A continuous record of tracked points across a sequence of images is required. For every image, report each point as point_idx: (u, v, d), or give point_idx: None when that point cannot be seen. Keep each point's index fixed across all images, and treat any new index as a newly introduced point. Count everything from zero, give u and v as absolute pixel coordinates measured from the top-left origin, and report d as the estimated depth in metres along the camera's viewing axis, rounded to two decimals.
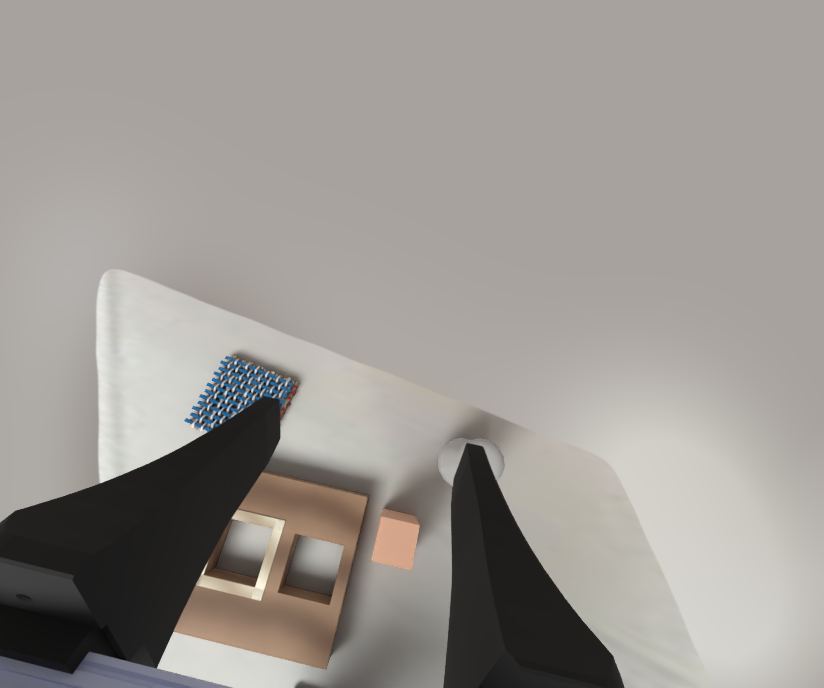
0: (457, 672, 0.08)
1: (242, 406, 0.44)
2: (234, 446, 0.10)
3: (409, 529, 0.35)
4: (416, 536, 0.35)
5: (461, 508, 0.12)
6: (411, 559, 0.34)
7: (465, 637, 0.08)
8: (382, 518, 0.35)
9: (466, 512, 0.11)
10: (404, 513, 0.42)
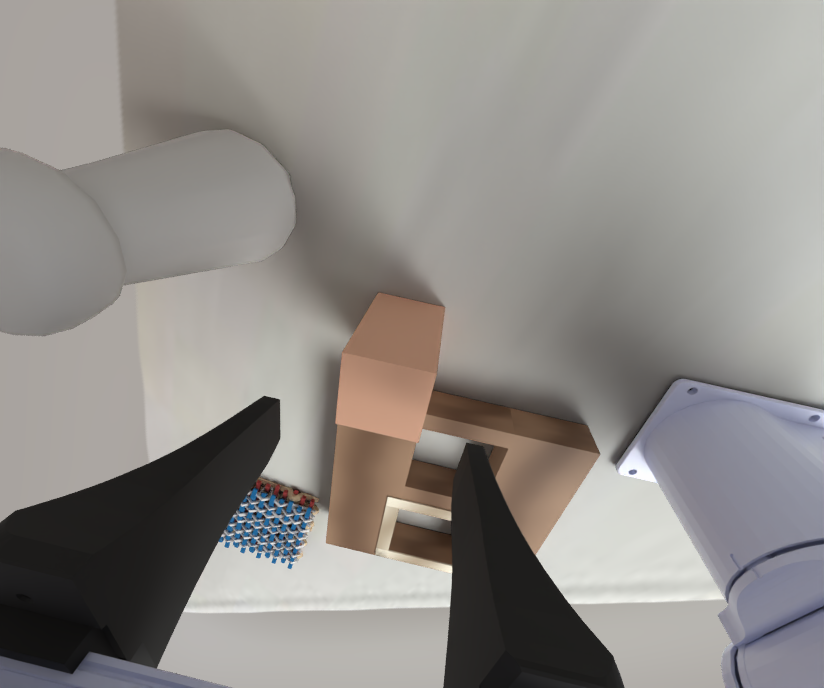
0: (457, 672, 0.08)
1: (256, 525, 0.31)
2: (234, 446, 0.10)
3: (353, 373, 0.15)
4: (366, 360, 0.14)
5: (461, 508, 0.12)
6: (414, 372, 0.14)
7: (465, 637, 0.08)
8: (339, 421, 0.16)
9: (466, 512, 0.11)
10: None
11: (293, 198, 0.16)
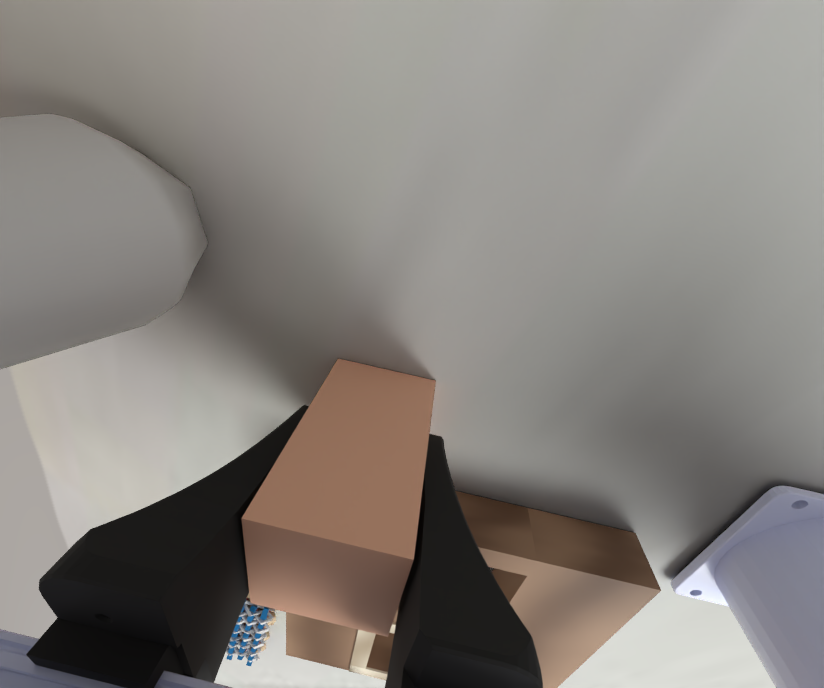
0: (395, 657, 0.08)
1: None
2: None
3: (267, 547, 0.08)
4: (286, 532, 0.08)
5: None
6: (373, 554, 0.08)
7: (403, 622, 0.08)
8: (256, 601, 0.10)
9: None
10: None
11: (181, 230, 0.10)
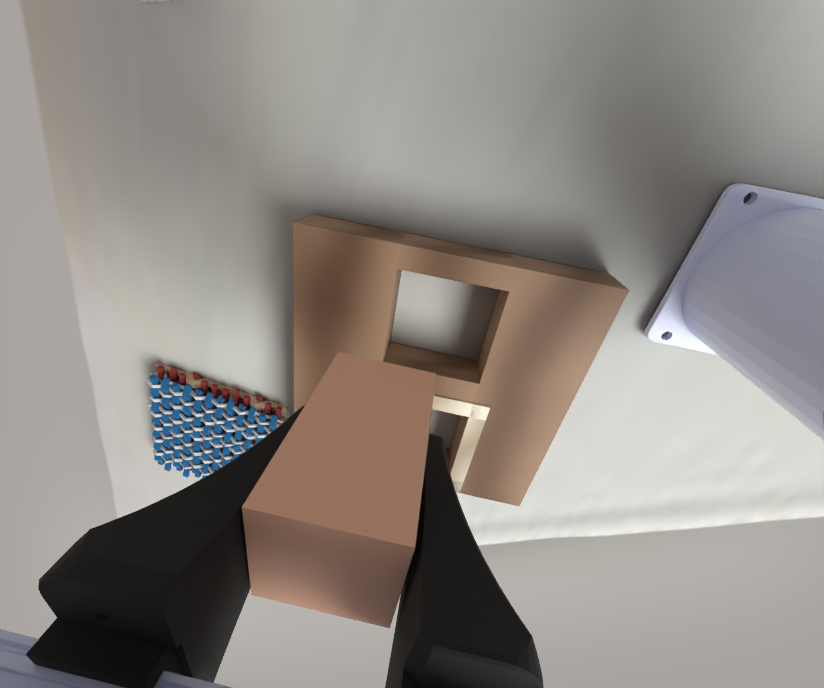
0: (395, 657, 0.08)
1: (215, 442, 0.27)
2: None
3: (267, 537, 0.08)
4: (286, 520, 0.08)
5: None
6: (374, 542, 0.08)
7: (403, 622, 0.08)
8: (256, 593, 0.10)
9: None
10: None
11: None
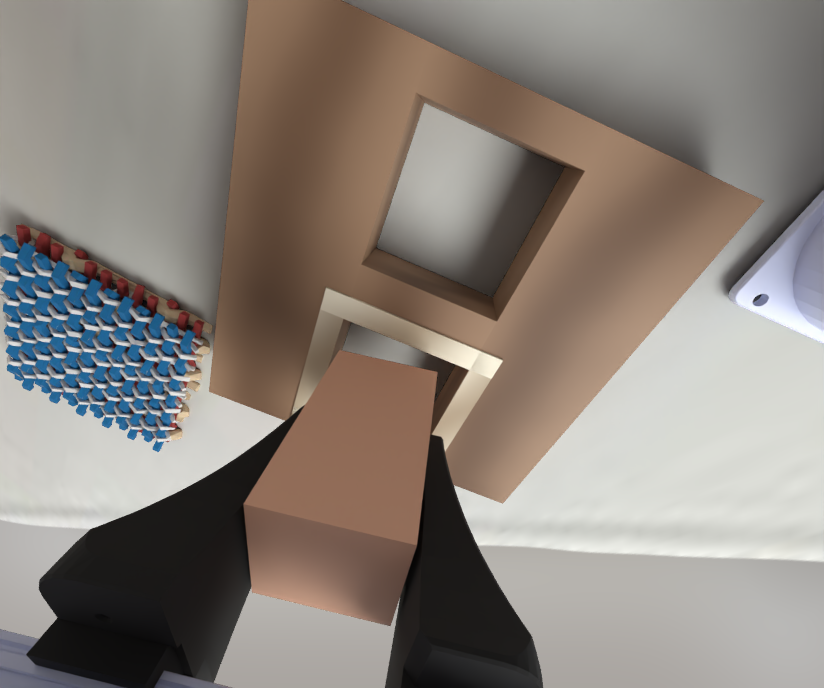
0: (395, 657, 0.08)
1: (98, 357, 0.19)
2: None
3: (269, 534, 0.08)
4: (288, 517, 0.08)
5: None
6: (376, 540, 0.08)
7: (403, 622, 0.08)
8: (257, 590, 0.10)
9: None
10: None
11: None
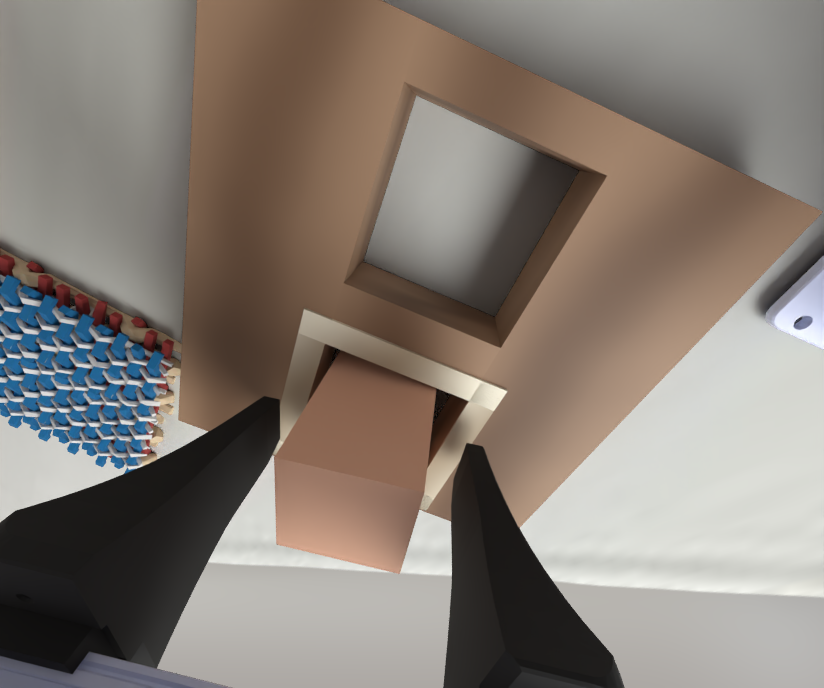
0: (457, 672, 0.08)
1: (58, 380, 0.17)
2: (234, 446, 0.10)
3: (295, 485, 0.10)
4: (312, 469, 0.09)
5: (461, 508, 0.12)
6: (389, 488, 0.09)
7: (465, 637, 0.08)
8: (281, 542, 0.11)
9: (466, 512, 0.11)
10: None
11: None
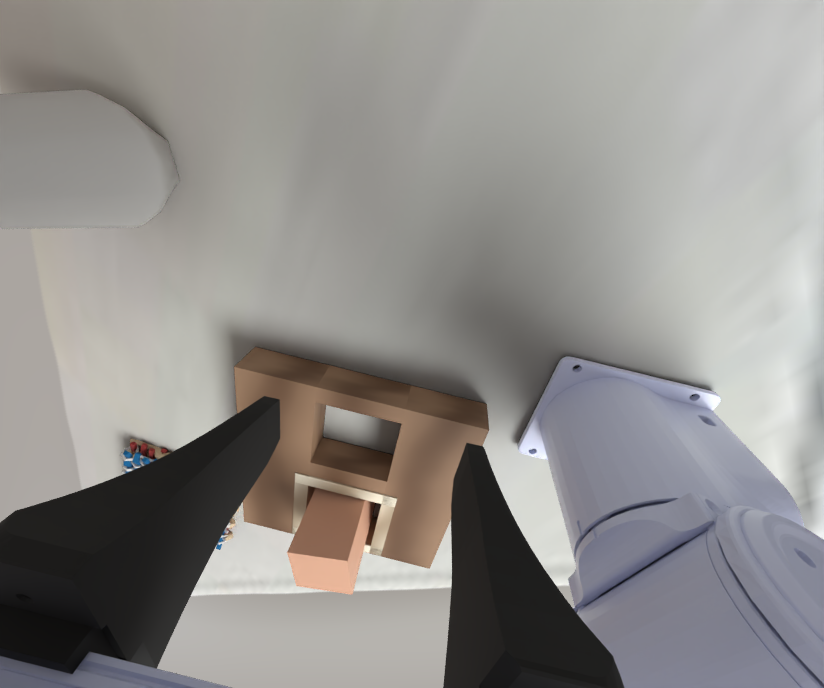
0: (457, 672, 0.08)
1: None
2: (234, 446, 0.10)
3: (298, 562, 0.23)
4: (303, 555, 0.22)
5: (461, 508, 0.12)
6: (334, 560, 0.22)
7: (465, 637, 0.08)
8: (298, 584, 0.24)
9: (466, 512, 0.11)
10: None
11: (159, 162, 0.16)
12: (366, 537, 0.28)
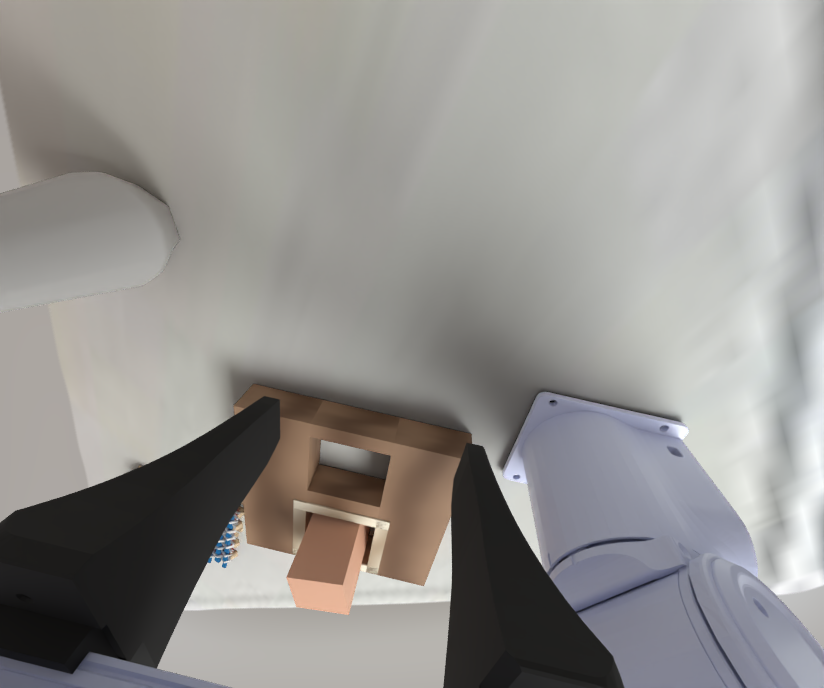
0: (457, 672, 0.08)
1: None
2: (234, 446, 0.10)
3: (296, 585, 0.24)
4: (301, 580, 0.24)
5: (461, 508, 0.12)
6: (330, 584, 0.24)
7: (465, 637, 0.08)
8: (298, 606, 0.26)
9: (466, 512, 0.11)
10: None
11: (161, 231, 0.18)
12: (362, 558, 0.29)
